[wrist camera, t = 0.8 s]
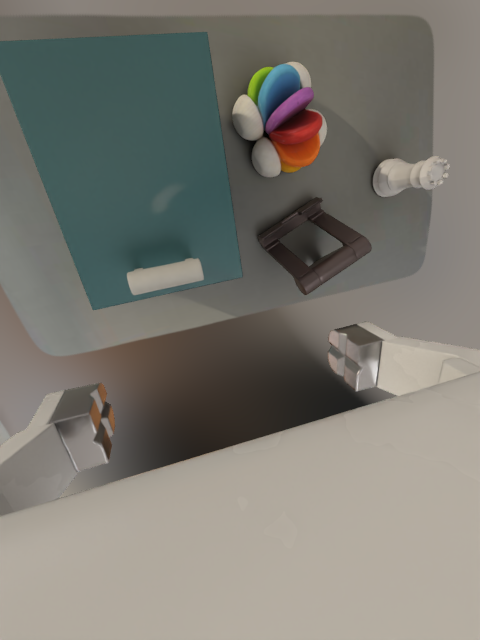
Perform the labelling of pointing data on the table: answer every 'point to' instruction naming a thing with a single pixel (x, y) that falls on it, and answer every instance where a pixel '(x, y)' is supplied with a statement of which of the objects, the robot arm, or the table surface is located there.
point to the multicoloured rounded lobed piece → (280, 119)
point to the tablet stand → (325, 266)
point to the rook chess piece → (408, 175)
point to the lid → (129, 158)
